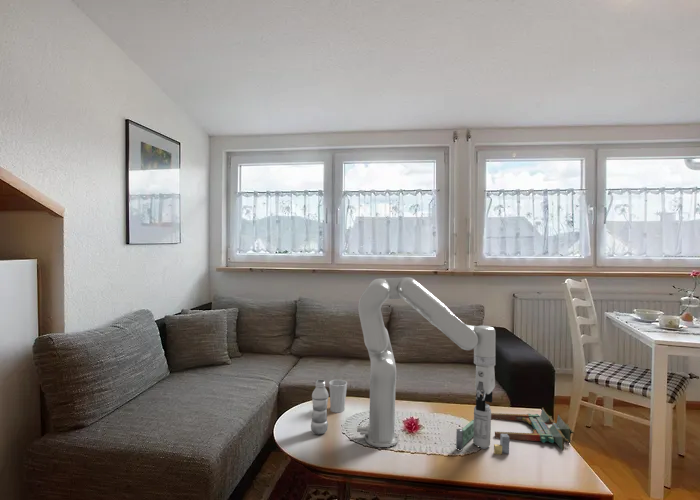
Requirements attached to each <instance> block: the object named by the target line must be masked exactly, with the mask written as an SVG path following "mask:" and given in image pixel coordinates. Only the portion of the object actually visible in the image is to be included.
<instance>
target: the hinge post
mask: <svg viewBox="0 0 700 500" xmlns="http://www.w3.org/2000/svg"><path fill="white" fill-rule="evenodd" d="M462 429H463V428H457V429H456V437H455V438H456V439H455V440H456V442H455V443H456V444H455V445H456V446H455V449H456V448H457V449H459V450H461V449H462V450H463V447H464V446H463V430H462ZM462 446H463V447H462Z"/></svg>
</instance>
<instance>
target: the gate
mask: <svg viewBox="0 0 700 500" xmlns="http://www.w3.org/2000/svg"><path fill="white" fill-rule="evenodd" d="M461 429H462V430H463V447H465V445H466V444H467V442H468V443H469V441H471V440H472V439H471V438H473V431H474V419H472V420H471V421H469V423H467V424H466V425H465V426H463V428H461ZM470 439H471V440H470Z"/></svg>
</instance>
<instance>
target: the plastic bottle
mask: <svg viewBox="0 0 700 500" xmlns="http://www.w3.org/2000/svg"><path fill="white" fill-rule="evenodd" d="M314 386H315V388H314V389H313V391H312V394H311V399H312V415H311V416H312V417H311V419H312V420H311V422H310V423H311V424H310V429H311V432H312V433H313V434H315V435H323V434H325V433H326V432H327V431H328V427H329V423H328V413H327V410H328V402H329V397H330V393H329V391H328V390H327V388H326V380H325V379H316V381H315V385H314Z"/></svg>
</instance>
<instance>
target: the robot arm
mask: <svg viewBox="0 0 700 500" xmlns="http://www.w3.org/2000/svg"><path fill="white" fill-rule="evenodd" d="M401 299H402V300H403V301H404V302H406V303H407V304H408V305H409V306H410V307H411V308H412V309H413V310H415V311H417V313H419V315H421V316H422V317H423V318H424V319H425V320H427V321H428V322H429V323H430V324H431V325H432V326H433V327H436V329H438V330H439V331H440V332H441V333H443V334H444V335H445V336H446V337H447V338H448V339H449V340H450V341H452V342H453V343H454V344H456V346H458V347H459V348H460V349H461V350H464V351H471V350H473V364H474V365H475V377H474V378H475V380H474V383H475V384H474V385H475V386H474V387H475V406H476V410H479V411H483V412H485V403H492V402H493V391H494V389H495V388H496V376H495V373H496V371H495V366H496V329H495V328H494V327H492V326H489V325H470V324H466V323H465V322H463V321H462V320H461V319H460V318H458V317H457V316H456V315H455V314H454V313H453V312H452V311H451V310H450V309H449V308H448V307H447V305H445V303H443V302H442V301H441V300H440V299H438V297H436V296H435V295H434V294H433V293H432V292H431V291H429V290H428V289H427V288H425V286H423V285H422V284H421V283H420V282H418V281H417V280H416V279H414V277H406V276H405V277H384V278H375V279H373V280H372V281H371V282H370V283H369V285H368V287H366V288H365V290H364V291H363V293H362V294H361V295H360V298H359V301H358V307H357V308H358V309H357V310H358V316H359V320H360V327H361V330H362V335H363V341H364V345H365V347H366V349H367V352H368V356H369V360H370V370H369V371H370V372H369V375H370V377H369V412H368V413H369V421H368V422H369V423H368V425H367V426H366V425H365V426H357V428H356V429H357V430H356V431H357V433H359V434H360V435H361V436H362V435H364V441H365V442H366V443H367V444H368V445H370V446H373V447H375V446H376V448H380V447H387V448H391V447H390V446H392V447H394V446H395V444H396V443H397V442H398V443H399V435H398V434H397V433H395V428H396V427H395V425H396V423H395V422H396V421H395V418H396V417H395V416H396V389H397V388H396V387H397V386H396V385H397V366H396V360H395V356H394V352H393V351H394V350H393V348H392V344H391V339H390V335H389V331H388V329H387V328H386V327H385V323H384V317H383V312H382V306H383V304H384V303H385V302H387V301H388V300H401ZM398 443H397V444H398ZM397 444H396V445H397ZM393 445H394V446H393Z"/></svg>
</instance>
